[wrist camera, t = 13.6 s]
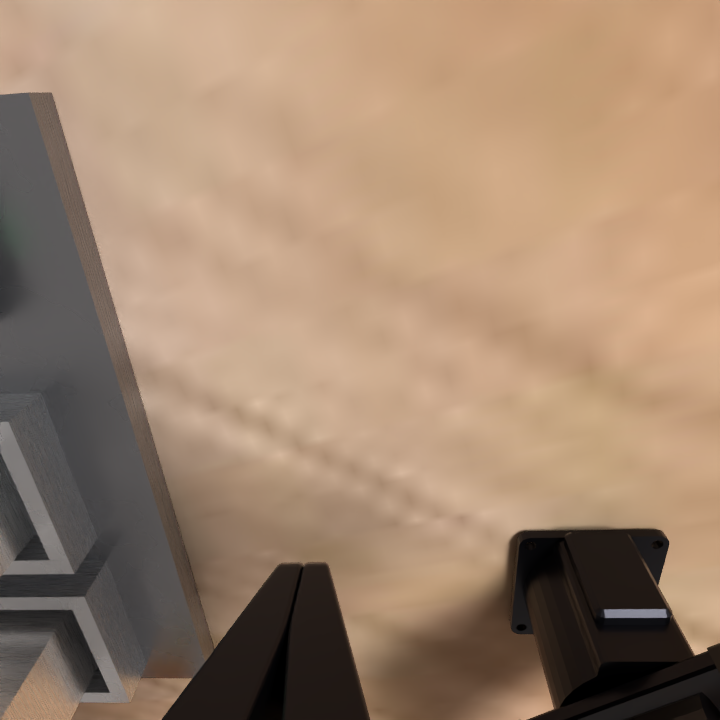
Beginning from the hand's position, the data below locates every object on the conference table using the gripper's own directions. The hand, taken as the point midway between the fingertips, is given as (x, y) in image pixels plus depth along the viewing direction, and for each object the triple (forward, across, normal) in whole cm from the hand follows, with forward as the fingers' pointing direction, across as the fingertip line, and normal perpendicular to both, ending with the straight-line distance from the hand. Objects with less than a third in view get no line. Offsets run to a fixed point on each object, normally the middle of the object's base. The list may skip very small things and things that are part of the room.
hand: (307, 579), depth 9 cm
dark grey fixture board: (+12, +16, +6) cm, 21 cm away
